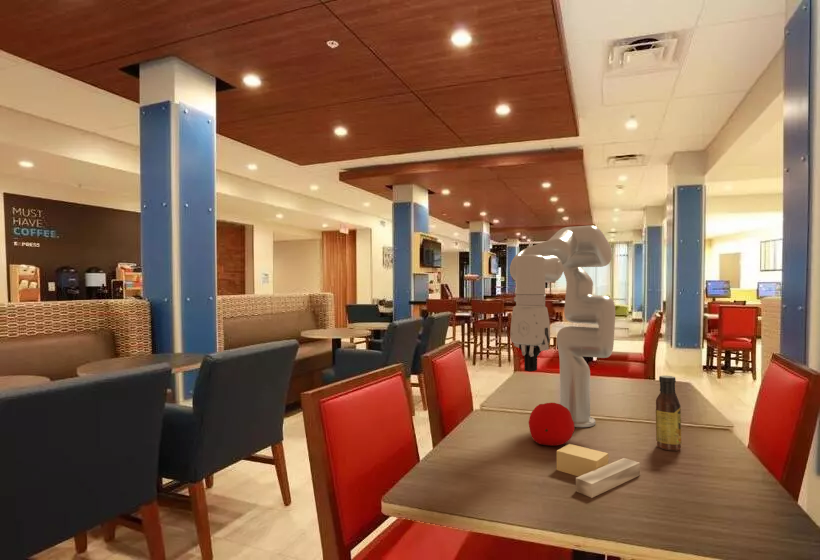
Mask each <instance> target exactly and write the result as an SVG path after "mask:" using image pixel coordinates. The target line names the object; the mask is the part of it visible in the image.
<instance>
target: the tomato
mask: <svg viewBox="0 0 820 560" xmlns="http://www.w3.org/2000/svg"><path fill="white" fill-rule="evenodd" d="M528 427H529V433H530V436H531V438H532V439H533V441H534V442H535V443H537V444H539V445H543V446H561V445H564V444H566V443H567V442H569V441H570V440H571V439H572V436H573V434H574V431H575V427H574V422H573V420H572V416H571V413H570V411H569V410H568V409H567V408H566V407H564V406H562V405H561V404H560V403H557V402H546V403H540V404H538V405H536V406H535V407H534V408H533V410H532V411H531V413H530V415H529V419H528Z"/></svg>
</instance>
